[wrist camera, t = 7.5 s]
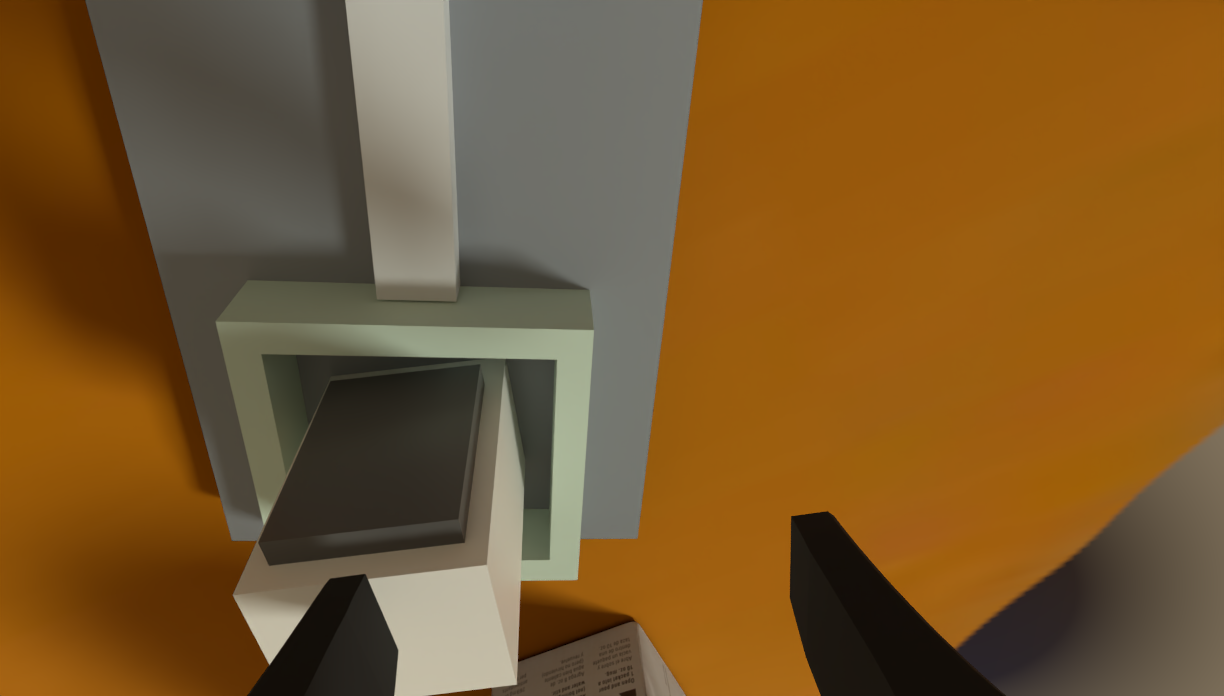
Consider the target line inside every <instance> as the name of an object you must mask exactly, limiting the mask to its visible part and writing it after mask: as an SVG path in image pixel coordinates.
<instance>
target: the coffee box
mask: <svg viewBox="0 0 1224 696" xmlns="http://www.w3.org/2000/svg"><path fill="white" fill-rule="evenodd" d="M492 696H686V695H685V694H684V692H683V690H682V689H681V687H680V686H679V684H678V683H677V681H676V680H675V678H674V676H673V675H672V673H671V672H670V670H669V669H668V667H667V666H666V664H665V663H664V661H663V660H662V658H661V657H660V655H659V654H658V652H657V651H656V649H655V648H654V646H653V645H652V643H651V642H650V640H649V639H648V637H647V635H646V634H645V632H644V631H643V629H642V628H641V626H640V625H639V624H638V623H637V622H629V623H626V624H623V625H620V626H617V627H614V628H612V629H609V630H606V631H603V632H600V633H598V634H595V635H592V636H589V637H587V638H584V639H581V640H578V641H575V642H573V643H570V644H567V645H564V646H561V647H559V648H556V649H553V650H550V651H547V652H545V653H542V654H539V655H537V656H534V657H531V658H528V659H525V660H523V661H520V662H518V667H517V685H510V686H501V687H493V688H492Z"/></svg>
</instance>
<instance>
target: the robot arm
mask: <svg viewBox="0 0 1224 696" xmlns="http://www.w3.org/2000/svg"><path fill="white" fill-rule="evenodd" d="M790 600H791V603H792V607H793V611H794V615H795V619H796V622H797V626H798V630H799V633H800V637H801V641H802V644H803V648H804V651H805V655H806V658H807V661H808V663H809V666H810V669H811V671H812V674H813V676H814V679H815V682H816V684H817V687H818V689H819V692H820V694H821V696H1006V695H1005V694H1003V693H1002V692H1001V691H1000V690H999V689H998V688H996V687H995V686H994V685H993V684H992V683H991V682H990V681H989V680H987V679H986V678H985V677H984V676H983V675H982V674H981V673H980V672H978V671H977V670H976V669H975V668H974V667H973V666H972V665H971V664H970V663H969V662H968V661H966V660H965V659H964V658H963V657H962V656H961V655H960V654H959V653H958V652H957V651H956V650H955V649H954V648H953V647H952V646H951V645H950V644H949V643H948V642H947V641H946V640H945V639H944V638H942V637H941V636H940V635H939V634H938V633H937V632H936V631H935V630H934V629H933V628H932V627H931V626H930V625H929V624H928V623H927V622H926V621H925V619H924V618H923V617H922V616H921V615H920V614H919V613H918V612H917V611H916V610H915V609H914V608H913V607H912V606H911V605H910V604H909V603H908V602H907V601H906V600H905V598H904V597H903V596H902V595H901V594H900V593H899V592H898V591H897V590H896V589H895V588H894V587H893V586H892V585H891V583H890V582H889V581H888V580H887V579H886V578H885V577H884V576H883V575H882V573H881V572H880V571H879V570H878V569H877V568H876V567H875V565H874V564H873V563H872V562H871V561H870V560H869V559H868V557H867V556H866V555H865V554H864V553H863V551H862V550H861V549H860V548H859V547H858V546H857V544H856V543H855V542H854V541H853V539H852V538H851V537H850V536H849V535H848V533H847V532H846V531H845V530H844V528H843V527H842V526H841V525H840V523H839V522H838V521H837V519H836V518H835V517H834V516H833V515H832V514H830V513H829V512H828V511H827V512H820V513H812V514H805V515H798V516H791V566H790ZM398 651H399V650H398V648H397V645H396V643H395V641H394V638H393V636H392V634H391V632H390V629H389V627H388V625H387V622H386V620H385V618H384V615H383V613H382V611H381V608H380V606H379V604H378V602H377V599H376V597H375V595H374V592H373V590H372V588H371V585H370V583H369V581H368V578H367V576H366V574H360V575H352V576H345V577H338V578H330V579H329V580H328V581H327V583H326V584H325V585H324V587H323V588H322V589H321V591H320V592H319V594H318V595H317V597H316V598H315V600H314V601H313V602H312V604H311V605H310V607H309V608H308V610H307V611H306V613H305V614H304V616H303V617H302V619H301V620H300V622H299V623H298V625H297V626H296V627H295V629H294V630H293V632H292V633H291V635H290V636H289V638H288V639H287V641H286V642H285V643H284V645H283V646H282V648H281V649H280V651H279V652H278V653H277V655H276V656H275V658H274V659H273V661H272V662H271V663H270V665H269V666H268V668H267V669H266V670H265V672H264V673H263V674H262V676H261V677H260V679H259V680H258V681H257V683H256V684H255V686H254V687H253V688H252V690H251V691H250V693H249V694H248V695H247V696H394V693H395V685H396V674H397V662H398Z"/></svg>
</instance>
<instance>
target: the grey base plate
mask: <svg viewBox="0 0 1224 696" xmlns="http://www.w3.org/2000/svg"><path fill="white" fill-rule="evenodd" d="M85 1H86V5H87V9H88V12H89V16H90V20H91V23H92V27H93V31H94V34H95V38H96V42H97V45H98V49H99V53H100V57H101V60H102V64H103V68H104V71H105V75H106V79H107V82H108V86H109V90H110V93H111V97H112V101H113V104H114V108H115V112H116V115H117V119H118V123H119V126H120V130H121V134H122V137H123V141H124V145H125V149H126V152H127V156H128V160H129V163H130V167H131V171H132V174H133V178H134V182H135V185H136V189H137V193H138V196H139V200H140V204H141V207H142V211H143V215H144V218H145V222H146V226H147V230H148V233H149V237H150V241H151V244H152V248H153V252H154V255H155V259H156V263H157V266H158V270H159V274H160V277H161V281H162V285H163V288H164V292H165V296H166V299H167V303H168V307H169V310H170V314H171V318H172V322H173V325H174V329H175V333H176V336H177V340H178V344H179V347H180V351H181V355H182V358H183V362H184V366H185V369H186V373H187V377H188V380H189V384H190V388H191V391H192V395H193V399H194V403H195V406H196V410H197V414H198V417H199V421H200V425H201V428H202V432H203V436H204V439H205V443H206V447H207V450H208V454H209V458H210V461H211V465H212V469H213V472H214V476H215V480H216V484H217V487H218V491H219V495H220V498H221V502H222V506H223V509H224V513H225V517H226V520H227V524H228V528H229V531H230V535H231V539H232V541H257V540H258V538H259V535H260V533H261V531H262V529H263V527H264V524H265V522H266V520H267V518H268V515H269V513H270V511H271V509H272V507H273V504H274V502H275V500H276V498H277V495H278V493H279V491H280V489H281V487H282V484H283V482H284V480H285V478H286V475H287V473H288V471H289V469H290V467H291V464H292V462H293V460H294V458H295V455H296V453H297V451H298V449H299V447H300V444H301V442H302V440H303V438H304V435H305V433H306V431H307V429H308V427H309V424H310V422H311V420H312V418H313V415H314V413H315V411H316V409H317V407H318V404H319V402H320V400H321V398H322V395H323V393H324V391H325V389H326V387H327V384H328V382H329V380H330V378H331V376H338V375H347V374H356V373H365V372H373V371H382V370H391V369H400V368H409V367H418V366H427V365H435V364H444V363H453V362H462V361H471V360H480V359H489V358H496V359H506V363H507V368H508V373H509V378H510V384H511V389H512V394H513V399H514V405H515V410H516V415H517V420H518V425H519V431H520V436H521V441H522V446H523V452H524V457H525V479H524V506H523V533H522V559H521V581H532V580H578V565H579V550H580V539H637V537H638V529H639V521H640V513H641V504H642V496H643V488H644V480H645V472H646V463H647V455H648V447H649V439H650V430H651V422H652V414H653V406H654V398H655V389H656V381H657V373H658V365H659V356H660V348H661V340H662V332H663V324H664V315H665V307H666V299H667V291H668V282H669V274H670V266H671V258H672V250H673V241H674V233H675V225H676V217H677V208H678V200H679V192H680V184H681V176H682V167H683V159H684V151H685V143H686V134H687V126H688V118H689V110H690V102H691V93H692V85H693V77H694V69H695V60H696V52H697V44H698V36H699V28H700V19H701V11H702V3H703V0H85Z"/></svg>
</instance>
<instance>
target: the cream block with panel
mask: <svg viewBox="0 0 1224 696" xmlns="http://www.w3.org/2000/svg"><path fill="white" fill-rule="evenodd" d="M524 479H525V457H524V452H523V446H522V441H521V436H520V431H519V425H518V420H517V415H516V410H515V405H514V399H513V394H512V389H511V384H510V378H509V373H508V368H507V363H506V359H496V358H489V359H480V360H471V361H462V362H453V363H444V364H435V365H427V366H418V367H409V368H400V369H391V370H382V371H373V372H365V373H356V374H347V375H338V376H331V378H330V380H329V382H328V384H327V387H326V389H325V391H324V393H323V395H322V398H321V400H320V402H319V404H318V407H317V409H316V411H315V413H314V415H313V418H312V420H311V422H310V424H309V427H308V429H307V431H306V433H305V435H304V438H303V440H302V442H301V444H300V447H299V449H298V451H297V453H296V455H295V458H294V460H293V462H292V464H291V467H290V469H289V471H288V473H287V475H286V478H285V480H284V482H283V484H282V487H281V489H280V491H279V493H278V495H277V498H276V500H275V502H274V504H273V507H272V509H271V511H270V513H269V515H268V518H267V520H266V522H265V524H264V527H263V529H262V531H261V533H260V535H259V538H258V540H257V542H256V544H255V547H254V549H253V551H252V553H251V555H250V558H249V560H248V562H247V564H246V567H245V569H244V571H243V573H242V575H241V578H240V580H239V582H238V584H237V587H236V589H235V591H234V593H233V597H234V599H235V601H236V602H237V604H238V606H239V608H240V610H241V612H242V614H243V616H244V618H245V619H246V621H247V623H248V625H249V627H250V629H251V631H252V633H253V635H254V636H255V638H256V640H257V642H258V644H259V646H260V648H261V650H262V652H263V653H264V655H265V657H266V659H267V661H268V663H269V665H270V663H271V662H272V661H273V659H274V658H275V656H276V655H277V653H278V652H279V651H280V649H281V648H282V646H283V645H284V643H285V642H286V641H287V639H288V638H289V636H290V635H291V633H292V632H293V630H294V629H295V627H296V626H297V625H298V623H299V622H300V620H301V619H302V617H303V616H304V614H305V613H306V611H307V610H308V608H309V607H310V605H311V604H312V602H313V601H314V600H315V598H316V597H317V595H318V594H319V592H320V591H321V589H322V588H323V587H324V585H325V584H326V583H327V581H328V580H329V579H330V578H338V577H345V576H352V575H360V574H366V576H367V578H368V581H369V583H370V585H371V588H372V590H373V592H374V595H375V597H376V599H377V602H378V604H379V606H380V608H381V611H382V613H383V615H384V618H385V620H386V622H387V625H388V627H389V629H390V632H391V634H392V636H393V638H394V641H395V643H396V645H397V648H398V650H399V651H398V662H397V674H396V685H395V693H394V696H428V695H436V694H444V693H452V692H460V691H469V690H477V689H485V688H493V687H501V686H510V685H517V667H518V640H519V613H520V586H521V559H522V533H523V506H524Z"/></svg>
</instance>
